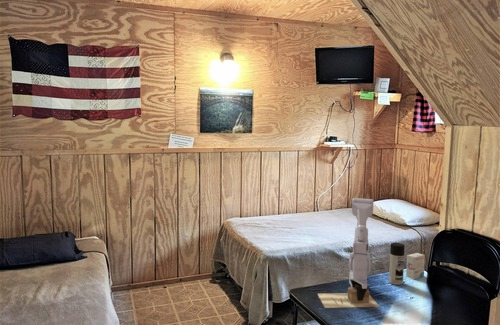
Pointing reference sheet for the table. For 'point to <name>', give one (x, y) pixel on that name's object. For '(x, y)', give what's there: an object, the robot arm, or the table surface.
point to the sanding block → (353, 295)
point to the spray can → (396, 263)
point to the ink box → (415, 265)
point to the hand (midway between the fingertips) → (358, 297)
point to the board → (343, 301)
